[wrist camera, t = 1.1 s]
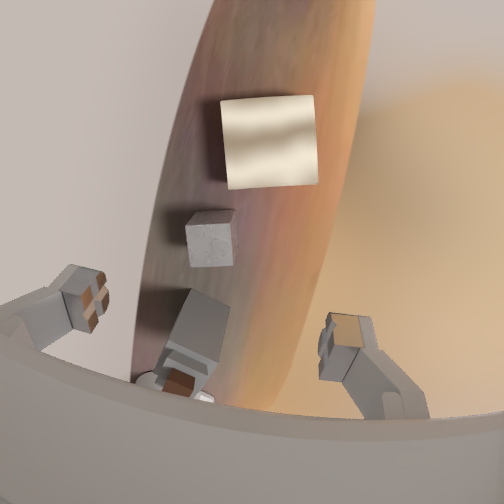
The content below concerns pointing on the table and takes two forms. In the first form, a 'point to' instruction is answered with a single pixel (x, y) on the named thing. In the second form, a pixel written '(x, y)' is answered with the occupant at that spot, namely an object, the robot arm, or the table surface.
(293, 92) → the table surface
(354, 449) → the robot arm
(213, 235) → the grey block
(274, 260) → the table surface
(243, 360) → the table surface
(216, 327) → the perfume bottle
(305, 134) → the cream square dish
